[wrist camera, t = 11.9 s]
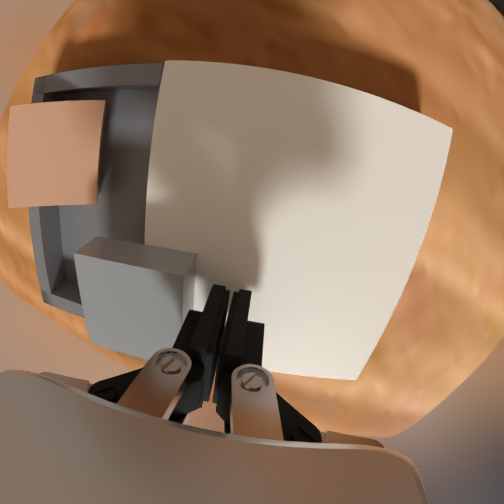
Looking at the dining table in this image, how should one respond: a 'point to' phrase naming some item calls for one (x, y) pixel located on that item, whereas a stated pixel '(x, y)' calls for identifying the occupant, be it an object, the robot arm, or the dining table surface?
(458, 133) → the dining table surface
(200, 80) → the board
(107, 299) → the slate tile
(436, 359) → the dining table surface
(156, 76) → the tray
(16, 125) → the terracotta tile
